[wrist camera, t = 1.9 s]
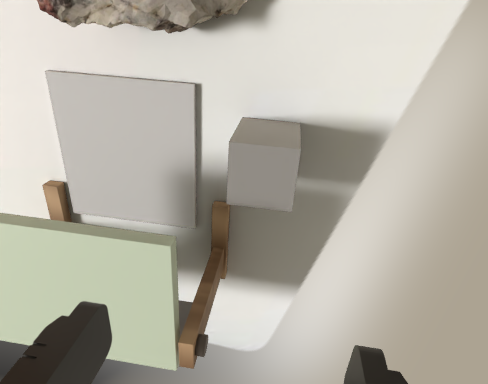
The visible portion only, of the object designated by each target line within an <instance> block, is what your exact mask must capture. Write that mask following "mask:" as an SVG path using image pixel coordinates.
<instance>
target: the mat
mask: <svg viewBox="0 0 488 384" xmlns="http://www.w3.org/2000/svg"><path fill="white" fill-rule="evenodd" d="M45 74H46V79H47V84H48V88H49V93H50V98H51V103H52V108H53V113H54V118H55V123H56V128H57V133H58V138H59V143H60V148H61V153H62V158H63V163H64V168H65V173H66V178H67V182H68V187H69V192H70V197H71V202H72V207H73V212H74V213H79V214H86V215H94V216H101V217H109V218H117V219H124V220H132V221H139V222H147V223H155V224H162V225H170V226H177V227H185V228H193V229H195V228H196V94H195V83H184V82H173V81H161V80H150V79H139V78H128V77H117V76H105V75H94V74H83V73H72V72H61V71H50V70H48V71H45Z"/></svg>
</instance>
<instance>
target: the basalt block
mask: <svg viewBox="0 0 488 384" xmlns="http://www.w3.org/2000/svg"><path fill="white" fill-rule="evenodd" d="M300 154H301V131H300V123H296V122H285V121H275V120H265V119H255V118H245V117H242V119H241V121H240V123H239V125H238V126H237V128H236V130H235V132H234V134H233V136H232V137H231V139H230V141H229V154H228V178H227V201H226V204H229V205H237V206H245V207H254V208H262V209H270V210H278V211H286V212H292V208H293V201H294V194H295V187H296V181H297V174H298V167H299V160H300Z"/></svg>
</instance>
